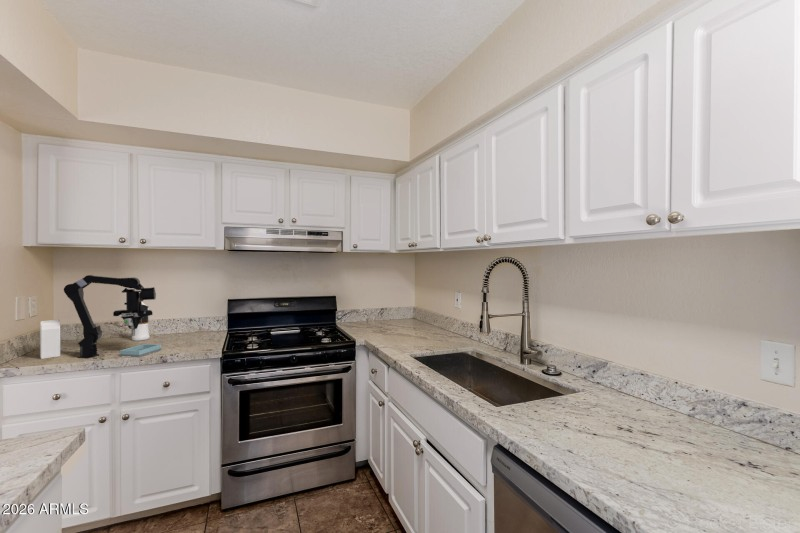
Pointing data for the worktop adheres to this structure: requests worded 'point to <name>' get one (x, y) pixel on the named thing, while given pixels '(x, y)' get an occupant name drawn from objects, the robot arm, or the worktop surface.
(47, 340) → the milk carton
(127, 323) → the mechanical component
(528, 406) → the worktop surface
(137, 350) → the tray
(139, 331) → the vodka
